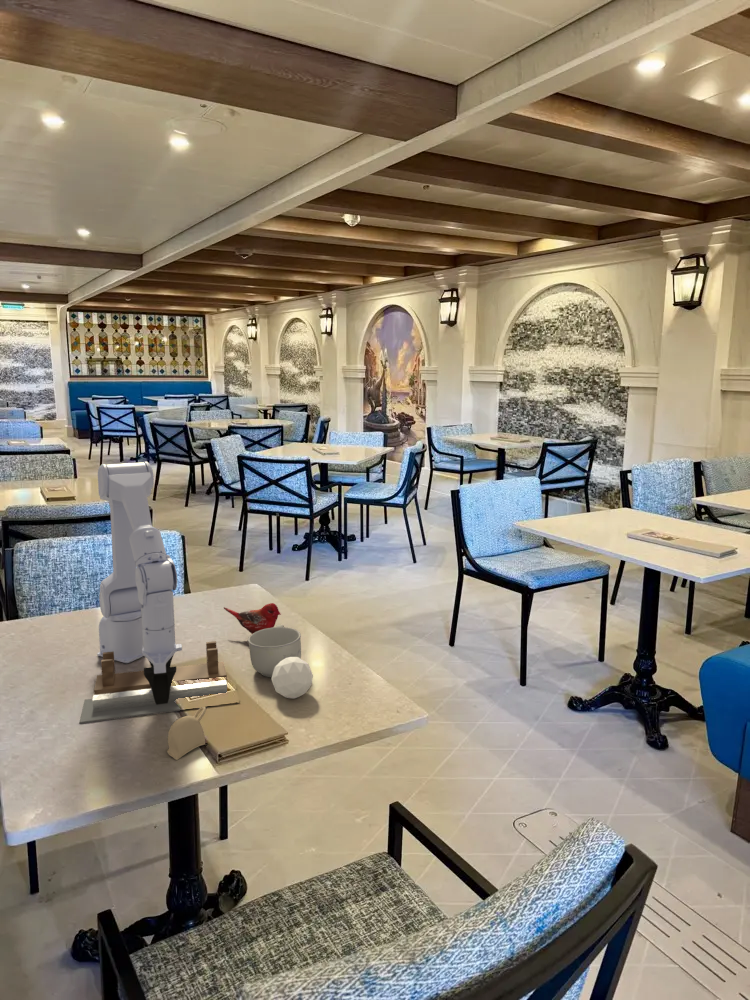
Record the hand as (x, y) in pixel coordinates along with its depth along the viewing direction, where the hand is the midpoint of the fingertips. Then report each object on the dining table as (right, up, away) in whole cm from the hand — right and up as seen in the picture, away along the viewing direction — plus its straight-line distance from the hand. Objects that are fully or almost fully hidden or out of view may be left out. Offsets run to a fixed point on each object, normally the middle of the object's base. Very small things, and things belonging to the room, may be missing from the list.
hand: (161, 694), depth 130 cm
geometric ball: (+24, -1, +3) cm, 24 cm away
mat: (0, -2, 0) cm, 2 cm away
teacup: (+20, +1, +16) cm, 25 cm away
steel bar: (0, -1, 0) cm, 1 cm away
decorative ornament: (+9, -5, -15) cm, 18 cm away
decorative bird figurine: (+11, +4, +32) cm, 34 cm away
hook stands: (-3, 0, +10) cm, 10 cm away
